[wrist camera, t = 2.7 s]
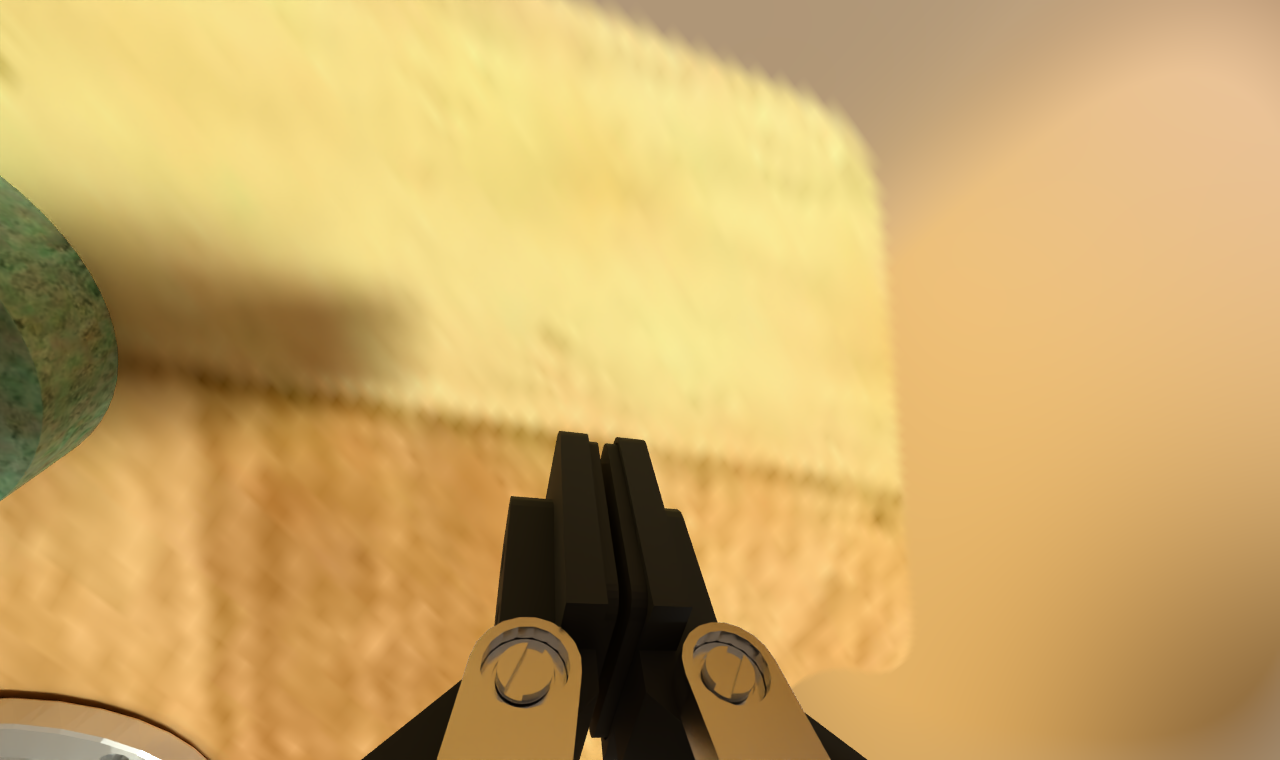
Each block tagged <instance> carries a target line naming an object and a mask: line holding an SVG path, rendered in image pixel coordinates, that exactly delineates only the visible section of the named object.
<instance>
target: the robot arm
mask: <svg viewBox="0 0 1280 760" xmlns="http://www.w3.org/2000/svg"><path fill="white" fill-rule="evenodd" d="M588 729H590V735H591V737H592V738H600V737H601V741H602V754H603V760H867V759H866V758H864V757H863V756H862V755H860V754H859V753H858V752H856V751H855V750H854V749H852V748H851V747H849V746H848V745H847V744H846V743H844V742H843V741H842V740H840V739H839V738H838V737H836V736H835V735H834V734H832V733H831V732H829V731H828V730H827V729H826V728H824V727H823V726H822V725H820V724H819V723H818V722H816V721H815V720H814V719H812V718H811V717H810V716H808V715H807V714H806V713H804V711H803V709H802V708H801V705H800V704H799V702H798V700H797V698H796V696H795V695H794V693H793V691H792V689H791V687H790V686H789V684H788V682H787V680H786V678H785V677H784V675H783V673H782V671H781V669H780V668H779V666H778V664H777V662H776V660H775V659H774V657H773V656H772V655H771V653H770V652H769V651H768V649H767V648H766V646H765V645H764V644H762V643H761V642H760V641H759V640H758V639H757V638H756V637H755V636H754V635H752V634H750V633H749V632H747V631H745V630H743V629H742V628H740V627H737V626H734V625H730V624H727V623H717V620H716V617H715V614H714V611H713V607H712V604H711V601H710V598H709V595H708V592H707V589H706V586H705V583H704V580H703V577H702V574H701V571H700V567H699V564H698V561H697V558H696V555H695V552H694V549H693V546H692V543H691V540H690V537H689V534H688V531H687V528H686V524H685V521H684V518H683V516H682V514H681V512H680V511H679V510H678V509H666V508H664V505H663V501H662V498H661V494H660V491H659V487H658V484H657V480H656V477H655V473H654V470H653V466H652V463H651V459H650V456H649V452H648V449H647V445H646V443H645V441H644V440H638V439H629V438H620V437H617V438H616V439H615V441H614V444H607V443H606V444H605V445H604V447H603V451H602V455H601V459H600V454H599V447H598V443H597V442H589V438H588V434H583V433H574V432H565V431H559V433H558V436H557V441H556V446H555V452H554V457H553V462H552V468H551V473H550V478H549V484H548V489H547V495H546V499H539V498H527V497H514V496H511V498H510V504H509V510H508V517H507V523H506V530H505V537H504V544H503V552H502V560H501V569H500V578H499V587H498V597H497V606H496V616H495V625H494V627H492V628H490V629H489V630H488V631H487V632H486V633H485V634H484V635H483V636H482V637H481V638H480V639H479V640H478V641H477V642H476V644H475V646H474V648H473V650H472V652H471V654H470V656H469V659H468V663H467V666H466V669H465V672H464V675H463V678H462V680H461V681H459V682H458V683H457V684H456V685H454V686H453V687H452V688H451V689H449V690H448V691H447V692H446V693H444V694H443V695H442V696H441V697H439V698H438V699H437V700H436V701H434V702H433V703H432V704H431V705H429V706H428V707H427V708H426V709H424V710H423V711H422V712H421V713H419V714H418V715H417V716H416V717H414V718H413V719H412V720H411V721H409V722H408V723H407V724H406V725H404V726H403V727H402V728H401V729H399V730H398V731H397V732H396V733H394V734H393V735H392V736H391V737H389V738H388V739H387V740H386V741H384V742H383V743H382V744H381V745H379V746H378V747H377V748H376V749H374V750H373V751H372V752H370V753H369V754H368V755H367V756H365V757H364V758H363V759H362V760H579V759H580V756H581V752H582V749H583V746H584V742H585V739H586V735H587V732H588ZM0 760H207V759H206V758H205V757H204V756H203V755H201V754H200V753H199V752H198V751H197V750H196V749H195V748H194V747H192V746H191V745H189V744H187V743H186V742H184V741H183V740H181V739H179V738H178V737H176V736H175V735H173V734H171V733H170V732H167V731H165V730H163V729H160V728H158V727H156V726H153V725H151V724H149V723H146V722H144V721H142V720H139V719H136V718H133V717H130V716H126V715H123V714H119V713H116V712H112V711H109V710H105V709H102V708H96V707H91V706H85V705H80V704H74V703H68V702H63V701H52V700H39V699H26V698H0Z"/></svg>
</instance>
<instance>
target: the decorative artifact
mask: <svg viewBox="0 0 1280 760" xmlns="http://www.w3.org/2000/svg"><path fill="white" fill-rule="evenodd" d="M117 372H118V352H117V343H116V337H115V332H114V328H113V324H112V321H111V318H110V315H109V311H108V309H107V307H106V304H105V302H104V300H103V297H102V295H101V293H100V291H99V289H98V287H97V285H96V283H95V282H94V280H93V278H92V276H91V274H90V273H89V271H88V270H87V268H86V267H85V265H84V264H83V262H82V261H81V259H80V258H79V256H78V255H77V253H76V252H75V251H74V249H73V248H72V247H71V245H70V244H69V243H68V242H67V240H66V239H65V238H64V237H63V235H62V234H61V233H60V232H59V231H58V230H57V229H56V227H55V226H54V225H53V224H52V223H51V222H50V221H49V220H48V219H47V218H46V217H45V215H44V214H43V213H42V212H41V211H40V210H38V209H37V208H36V207H35V206H34V205H33V204H32V203H31V202H30V201H29V200H28V199H27V198H26V197H25V196H24V195H23V194H21V193H20V192H19V191H18V190H17V189H15V188H14V187H13V186H12V185H11V184H9V183H8V182H7V181H6V180H5V179H3V178H2V177H1V176H0V501H1V500H3V499H4V498H5V497H7V496H8V495H10V494H11V493H12V492H14V491H15V490H17V489H18V488H19V487H21V486H22V485H24V484H25V483H26V482H28V481H29V480H31V479H32V478H33V477H35V476H36V475H38V474H39V473H40V472H42V471H43V470H45V469H46V468H47V467H49V466H50V465H52V464H53V463H54V462H56V461H57V460H59V459H60V458H61V457H63V456H64V455H66V454H67V453H68V452H70V451H71V450H72V449H74V448H75V447H77V446H78V445H79V444H80V443H82V442H83V441H84V440H85V439H86V438H87V437H88V436H89V435H90V434H91V433H92V432H93V430H94V429H95V428H96V427H97V425H98V424H99V423H100V421H101V420H102V418H103V416H104V415H105V413H106V411H107V409H108V407H109V405H110V402H111V400H112V397H113V394H114V390H115V386H116V381H117Z"/></svg>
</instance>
